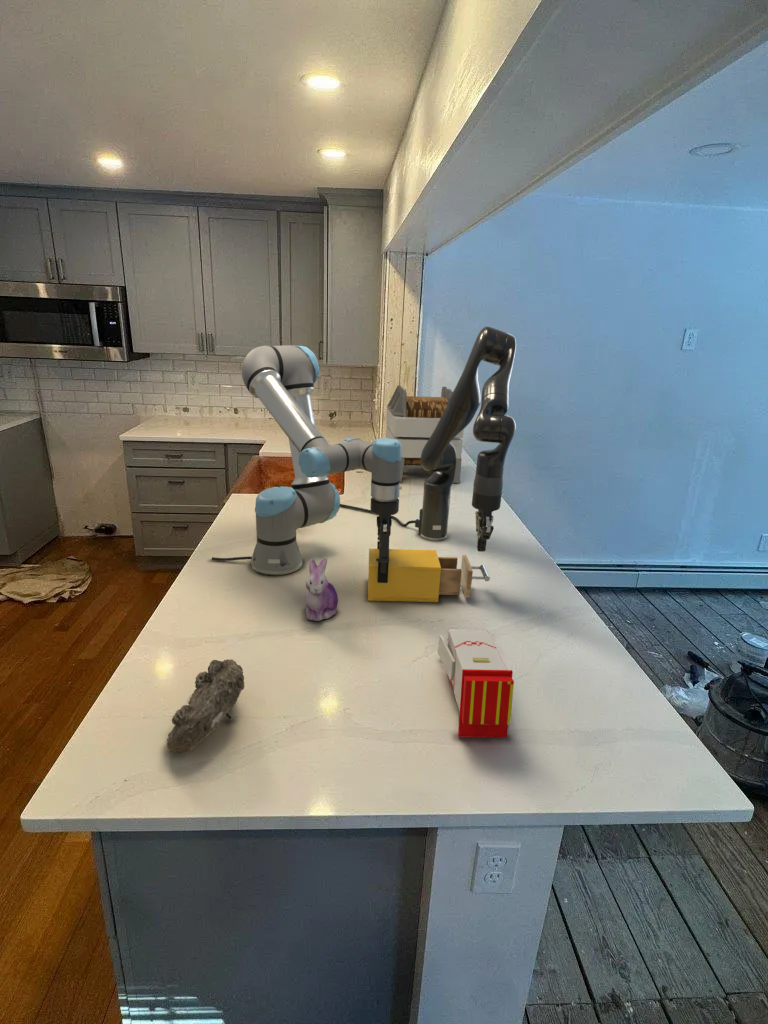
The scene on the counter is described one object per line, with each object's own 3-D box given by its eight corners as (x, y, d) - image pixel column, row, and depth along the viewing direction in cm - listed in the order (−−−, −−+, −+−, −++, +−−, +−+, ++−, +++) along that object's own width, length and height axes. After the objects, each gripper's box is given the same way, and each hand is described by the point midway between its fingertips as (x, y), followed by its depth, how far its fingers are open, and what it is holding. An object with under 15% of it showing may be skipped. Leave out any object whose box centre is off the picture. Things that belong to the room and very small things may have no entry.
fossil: (192, 660, 117) (244, 628, 112) (224, 691, 120) (276, 661, 115) (142, 746, 98) (202, 712, 93) (182, 779, 101) (242, 748, 96)
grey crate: (382, 463, 289) (386, 382, 275) (445, 464, 293) (451, 384, 279) (390, 482, 257) (394, 392, 243) (460, 483, 261) (468, 394, 247)
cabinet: (433, 582, 165) (436, 550, 162) (438, 602, 154) (440, 567, 151) (368, 581, 164) (369, 548, 161) (368, 600, 154) (369, 565, 150)
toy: (488, 613, 130) (523, 677, 101) (484, 667, 133) (517, 744, 104) (435, 612, 130) (455, 676, 101) (432, 666, 133) (451, 743, 103)
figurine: (311, 626, 140) (311, 571, 135) (297, 607, 148) (296, 554, 143) (346, 618, 144) (347, 564, 139) (330, 600, 152) (331, 549, 147)
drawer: (481, 581, 165) (484, 555, 162) (489, 598, 155) (492, 571, 152) (403, 579, 164) (404, 553, 161) (405, 596, 154) (407, 569, 151)
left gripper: (401, 513, 139) (397, 592, 146) (397, 484, 161) (393, 554, 168) (371, 512, 138) (368, 592, 146) (370, 484, 161) (368, 554, 168)
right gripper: (507, 498, 144) (499, 561, 150) (496, 483, 156) (489, 541, 162) (478, 497, 143) (471, 560, 149) (469, 482, 156) (463, 540, 162)
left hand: (381, 572), depth 157 cm, fingers closed on cabinet, 11 cm apart
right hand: (480, 550), depth 156 cm, fingers closed
